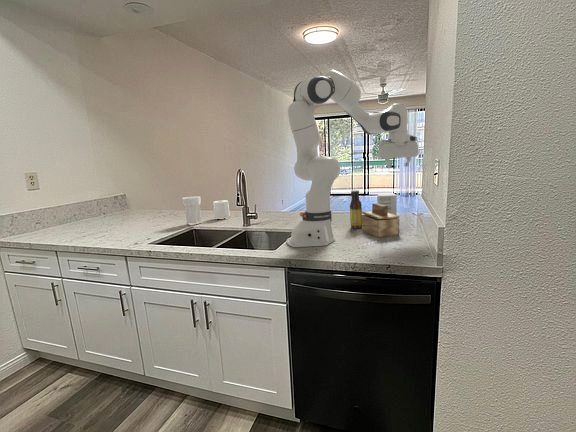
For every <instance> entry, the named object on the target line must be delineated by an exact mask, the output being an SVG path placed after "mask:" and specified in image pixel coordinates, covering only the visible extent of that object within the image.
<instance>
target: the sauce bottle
mask: <svg viewBox="0 0 576 432" xmlns="http://www.w3.org/2000/svg"><path fill="white" fill-rule="evenodd" d="M350 192H351V193H350V194H351V201H350V204H349V216H350V219H349V220H350V222H349V223H350V227H351V228H352V229H362V215H363V214H362V212H363V208H362V207H363V206H362V201H361V200H360V191H359V190H358V189H357V190H356V189H355V190H350Z"/></svg>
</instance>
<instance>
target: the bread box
mask: <svg viewBox="0 0 576 432" xmlns="http://www.w3.org/2000/svg"><path fill="white" fill-rule="evenodd" d="M361 229H362V231H364V232H366V233H367V234H370V235H372V236H374V237H376V238H386V237H394V236H395V237H396V236H400V217H399V218H390V219H375V218H373V217H370V216H368V215H365V214H362V227H361Z"/></svg>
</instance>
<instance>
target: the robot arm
mask: <svg viewBox="0 0 576 432" xmlns="http://www.w3.org/2000/svg"><path fill="white" fill-rule="evenodd" d="M361 94H362V93H361V88H360V87H359V86H358V85H357V84H356V82H354V81H353V80H352V79H350V78H349V77H347V76H346V75H344V74H343V73H341V72H339V71H337V70H335V69H330V70H328V71H326V72H325V73H324V74H323V75H322V76H319V75H317V76H313V77H309V78H306V79H304V80H302V81H300V82H298V83H297V84H296V86H295V87H294V90H293V99H292V102H291V103H290V105H289V106H288V108H287V115H288V122H289V125H290V126H289V127H290V130H291V133H292V136H293V140H294V143H295V147H296V162H295V164H294V168H293V170H294V174H295V176H296V177H297V178H299V179H301V180H303V181H307V182H311V183H310V184H311V185H310V188H309V190H308V191H307V192H306V194H305V209H306V211H305V212H303V211H300V212H299V216H300V217H302V218H301V219H302V220H301V221H300V222H299V223H298V224H296V225H294V227H293V228H292V230H291V234H290V237H288V238H287V239H286V245H288V246H289V247H292V248H306V247H323V246H324V247H325V246H328V245H329V244H331V243H334V242H335V241H336V239H335V236H334V233H333V227H332V221H333V220H332V219H333V217H332V210H331V190H332V187H333V184H334V183H335V180H337V178H338V177H339V176H340V174H341V164H340V162H339V160H338V159H337V158H334V157H332V156H328V155H327V156H325V155H324V156H321V155H320V156H319V154H318V147H319V145H320V143H321V141H322V140H321V139H322V138H321V136H320V133H319V128H318V125H317V121H316V119H315V114H314V109H315V106H318V105H323V104H324V103H326V102H328V101H329V100H330V99H331V100H332V101H333V102H335V103H336V104H337V105H339V107H340V108H342V110H343V111H344V112H345V113H346V114H347V115H348V116H349V117H351V118H352V119H353V120H354V121H355V122H356V123H357V124H358V125H359V127H360V128H361V130H362V131H363V132H364V133H365V134H366V135H367V136H368V135H370V136H372V135H377V134H381V133H388V139H380V141H379V142H378V144H377V145H378V152H377V158H378V159H379V160H384V162H385V164H386V167H387V168H388V169H392V164H393V163H391V162H390V159H399V158H405V159H406V161H405V162H404V163H403V164H404V167H406V168H407V167H408V168H409V166H410V162H411V160H412V158H413V157H414V158H415V157H418V155H419V143H418V142H417V141H418V136H416V135H413V134H409V133H408V132H409V131H408V123H409V114H408V108H407V106H406V105H405V104H404V103H403V104H402V103H392V104H390V105H389V107H387V108H386V109H384V110H382V111H379V112H375V113H371V112H368V111H367V112H366V111H365V110H364V108H363V107H361V106H360V104H359V101H360V99H361Z"/></svg>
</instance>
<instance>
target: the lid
mask: <svg viewBox="0 0 576 432" xmlns="http://www.w3.org/2000/svg"><path fill="white" fill-rule="evenodd" d="M362 215H368V216H370V217H373V218H375V219H390V218H399V219H400V215H397V214H396V215H394V214H391V213H388V215H386V216H381V215H378V214H375V213H373V212H372V210H370V211H362Z"/></svg>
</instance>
